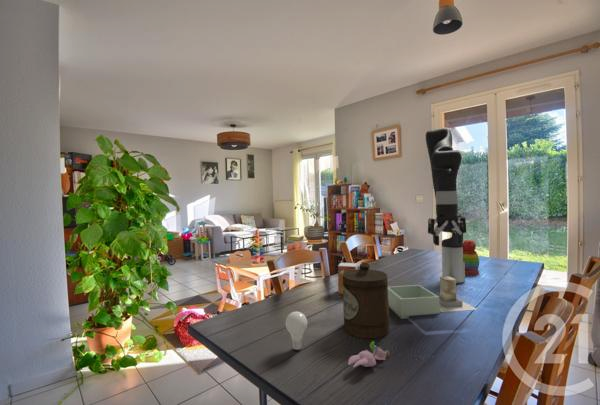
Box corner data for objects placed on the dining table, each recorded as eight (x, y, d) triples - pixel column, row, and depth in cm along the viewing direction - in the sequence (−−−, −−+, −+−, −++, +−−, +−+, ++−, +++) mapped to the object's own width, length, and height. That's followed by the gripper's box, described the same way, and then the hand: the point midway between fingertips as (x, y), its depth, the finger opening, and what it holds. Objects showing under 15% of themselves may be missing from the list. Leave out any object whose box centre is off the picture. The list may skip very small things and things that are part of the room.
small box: (338, 294, 131) (337, 265, 131) (340, 290, 137) (340, 262, 137) (356, 295, 129) (355, 266, 128) (358, 291, 135) (357, 263, 134)
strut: (450, 301, 116) (449, 276, 116) (456, 305, 112) (455, 279, 112) (440, 302, 116) (440, 277, 116) (446, 305, 112) (445, 279, 112)
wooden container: (341, 319, 106) (340, 258, 105) (383, 318, 105) (381, 257, 104) (346, 339, 91) (345, 269, 90) (395, 338, 90) (393, 268, 90)
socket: (454, 298, 122) (454, 291, 122) (477, 312, 108) (477, 304, 108) (422, 300, 121) (421, 293, 120) (441, 314, 107) (441, 306, 106)
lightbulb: (286, 344, 89) (284, 308, 88) (306, 343, 89) (305, 307, 89) (286, 356, 82) (285, 317, 82) (309, 354, 83) (308, 315, 83)
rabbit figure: (374, 355, 84) (340, 367, 74) (376, 333, 85) (342, 343, 75) (394, 364, 79) (360, 378, 70) (395, 341, 80) (362, 353, 70)
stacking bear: (459, 269, 167) (459, 238, 166) (480, 271, 161) (479, 239, 160) (456, 273, 158) (456, 240, 158) (478, 276, 152) (478, 242, 152)
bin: (419, 301, 119) (419, 284, 119) (439, 316, 105) (439, 296, 105) (386, 304, 118) (385, 286, 118) (401, 318, 104) (401, 299, 104)
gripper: (457, 202, 117) (458, 242, 118) (423, 203, 116) (424, 243, 117) (470, 202, 110) (471, 245, 110) (434, 203, 109) (435, 247, 109)
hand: (447, 244), depth 114 cm, fingers open, 8 cm apart
